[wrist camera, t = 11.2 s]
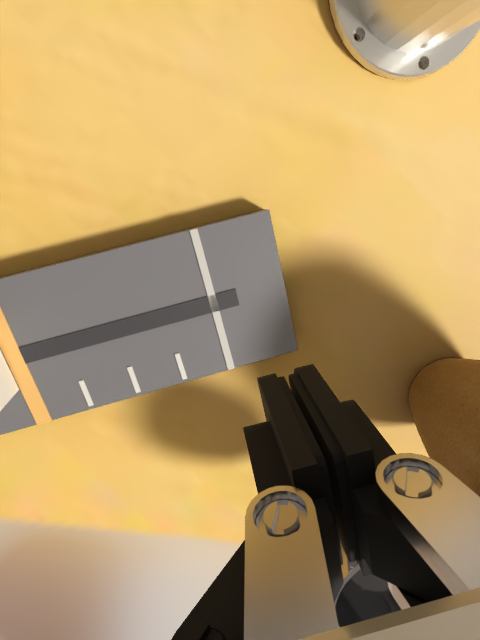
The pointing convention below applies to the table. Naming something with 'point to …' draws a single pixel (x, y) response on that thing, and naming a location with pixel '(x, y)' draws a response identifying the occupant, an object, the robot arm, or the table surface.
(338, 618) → the wine glass
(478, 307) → the table surface
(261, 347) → the console
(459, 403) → the plant pot
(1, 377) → the fader tab
